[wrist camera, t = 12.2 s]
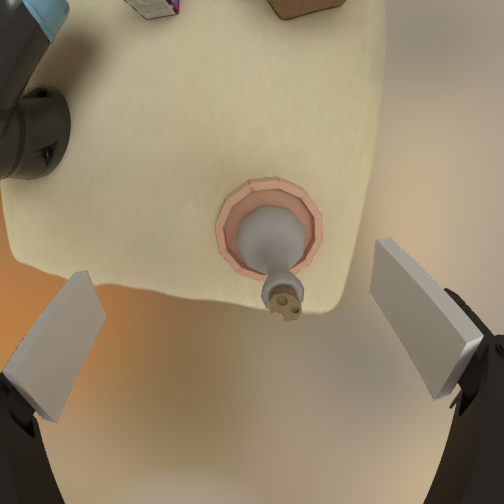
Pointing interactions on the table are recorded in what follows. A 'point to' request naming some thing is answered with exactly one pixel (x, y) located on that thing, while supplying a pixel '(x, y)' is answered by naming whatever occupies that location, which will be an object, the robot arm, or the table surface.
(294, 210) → the saucer
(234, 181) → the table surface
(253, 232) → the potion bottle
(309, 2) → the wooden block
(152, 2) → the candy bar box
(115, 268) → the table surface
